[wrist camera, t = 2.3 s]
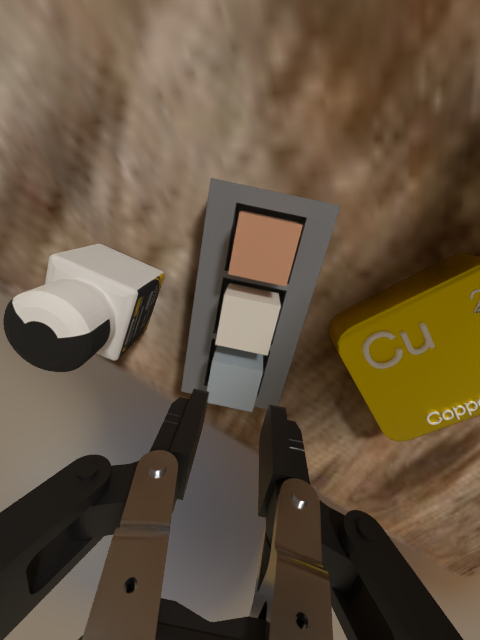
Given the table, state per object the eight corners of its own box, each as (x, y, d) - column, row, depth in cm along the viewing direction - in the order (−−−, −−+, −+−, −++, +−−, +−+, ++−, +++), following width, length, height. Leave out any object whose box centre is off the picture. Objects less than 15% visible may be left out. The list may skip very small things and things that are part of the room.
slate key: (263, 351, 27) (263, 371, 24) (253, 388, 29) (252, 412, 25) (218, 342, 27) (212, 361, 24) (211, 379, 29) (204, 402, 25)
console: (328, 205, 25) (340, 205, 21) (274, 388, 32) (276, 411, 29) (218, 182, 25) (210, 178, 21) (190, 370, 32) (181, 391, 29)
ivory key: (278, 293, 25) (280, 306, 21) (266, 337, 26) (267, 355, 23) (229, 282, 25) (224, 294, 21) (221, 327, 26) (215, 344, 23)
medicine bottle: (146, 329, 31) (82, 399, 20) (84, 303, 30) (-18, 360, 19) (166, 271, 28) (104, 314, 17) (99, 242, 28) (-11, 266, 17)
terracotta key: (297, 222, 22) (302, 225, 19) (283, 275, 24) (286, 286, 21) (243, 210, 22) (239, 211, 19) (232, 264, 24) (228, 274, 21)
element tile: (376, 419, 34) (393, 452, 29) (320, 320, 29) (331, 340, 25) (513, 367, 30) (556, 395, 25) (471, 243, 26) (515, 251, 21)
